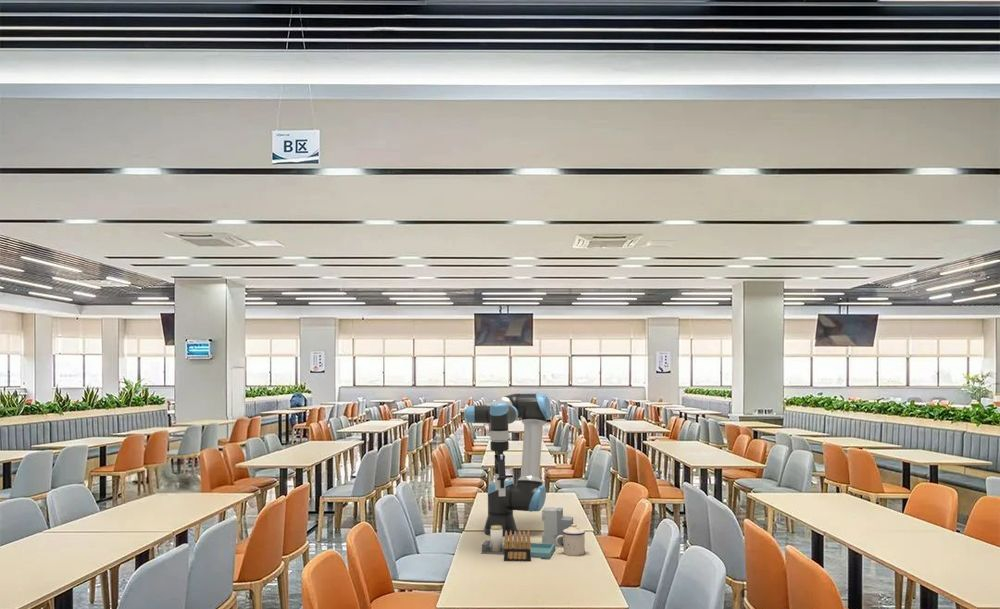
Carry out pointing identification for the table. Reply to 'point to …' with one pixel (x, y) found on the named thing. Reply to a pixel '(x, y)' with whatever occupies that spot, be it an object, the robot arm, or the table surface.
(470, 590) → the table surface
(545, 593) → the table surface
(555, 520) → the circuit breaker
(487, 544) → the grey square holder base
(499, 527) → the cylinder
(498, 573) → the table surface
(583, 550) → the teacup with lid
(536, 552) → the parts tray
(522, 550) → the ammunition clip
